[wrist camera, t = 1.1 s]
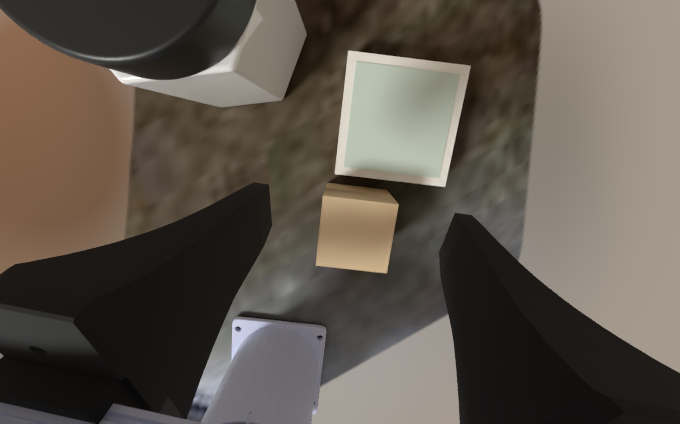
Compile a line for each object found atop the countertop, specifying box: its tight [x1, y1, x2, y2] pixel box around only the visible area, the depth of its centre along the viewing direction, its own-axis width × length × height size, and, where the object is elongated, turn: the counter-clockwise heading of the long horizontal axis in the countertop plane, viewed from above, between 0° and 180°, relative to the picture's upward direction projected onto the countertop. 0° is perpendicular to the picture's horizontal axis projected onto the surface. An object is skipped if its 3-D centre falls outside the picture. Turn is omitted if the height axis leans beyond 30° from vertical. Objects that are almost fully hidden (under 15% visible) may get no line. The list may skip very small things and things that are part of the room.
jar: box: [0, 0, 307, 107], centre depth 13 cm, size 9×8×12 cm
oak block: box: [316, 183, 399, 273], centre depth 20 cm, size 4×4×5 cm
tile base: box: [335, 51, 471, 187], centre depth 19 cm, size 8×8×2 cm
